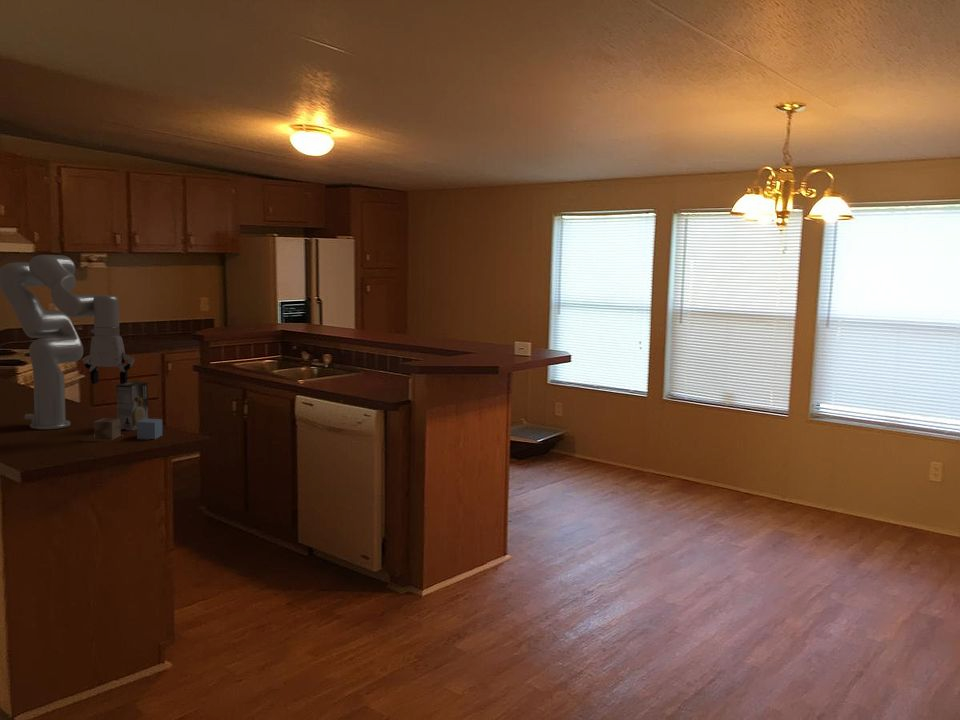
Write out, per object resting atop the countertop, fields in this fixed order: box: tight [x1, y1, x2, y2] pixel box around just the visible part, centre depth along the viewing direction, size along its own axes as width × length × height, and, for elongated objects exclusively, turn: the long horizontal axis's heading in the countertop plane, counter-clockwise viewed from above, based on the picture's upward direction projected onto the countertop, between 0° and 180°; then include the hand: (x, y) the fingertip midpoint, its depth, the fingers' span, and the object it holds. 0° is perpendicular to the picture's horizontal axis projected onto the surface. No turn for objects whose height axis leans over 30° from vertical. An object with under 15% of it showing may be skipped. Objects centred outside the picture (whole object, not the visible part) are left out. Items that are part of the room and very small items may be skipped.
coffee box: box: [116, 381, 149, 431], centre depth 274 cm, size 9×6×16 cm
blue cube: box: [136, 418, 163, 440], centre depth 261 cm, size 6×6×6 cm
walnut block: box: [93, 417, 122, 440], centre depth 258 cm, size 6×6×6 cm
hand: (109, 383), depth 257 cm, fingers open, 9 cm apart
